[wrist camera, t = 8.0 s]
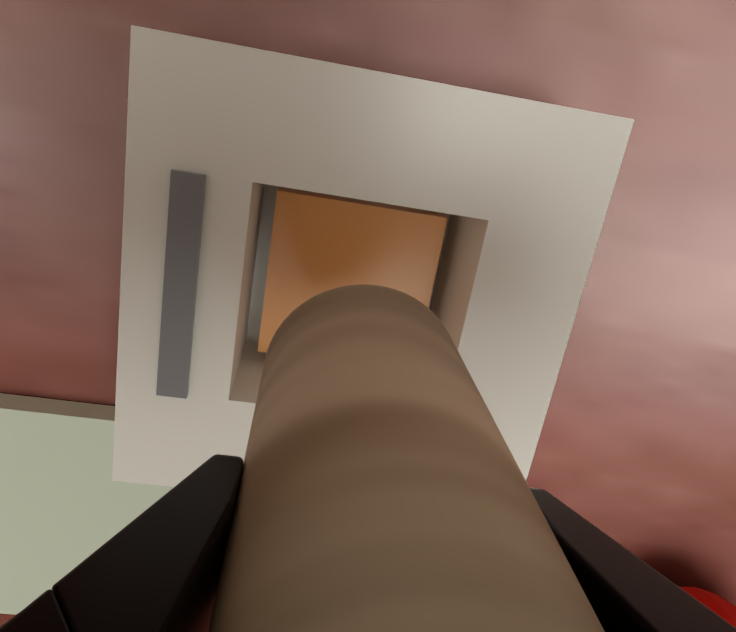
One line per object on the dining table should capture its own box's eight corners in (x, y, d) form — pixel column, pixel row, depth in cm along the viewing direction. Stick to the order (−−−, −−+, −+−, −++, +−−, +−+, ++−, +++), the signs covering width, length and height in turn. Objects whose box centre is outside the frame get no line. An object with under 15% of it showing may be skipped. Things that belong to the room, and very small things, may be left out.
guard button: (408, 353, 21) (414, 371, 20) (261, 333, 21) (257, 351, 19) (438, 208, 20) (447, 218, 18) (280, 183, 19) (276, 190, 18)
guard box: (476, 436, 24) (515, 525, 19) (155, 398, 22) (109, 484, 18) (561, 112, 20) (638, 120, 15) (179, 40, 18) (128, 23, 14)
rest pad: (179, 606, 26) (174, 626, 25) (-53, 588, 25) (-68, 608, 24) (197, 415, 23) (191, 429, 22) (-66, 385, 22) (-84, 399, 21)
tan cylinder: (435, 469, 14) (682, 1291, 4) (253, 450, 13) (86, 1326, 4) (476, 299, 12) (955, 942, 3) (276, 270, 12) (109, 931, 3)
